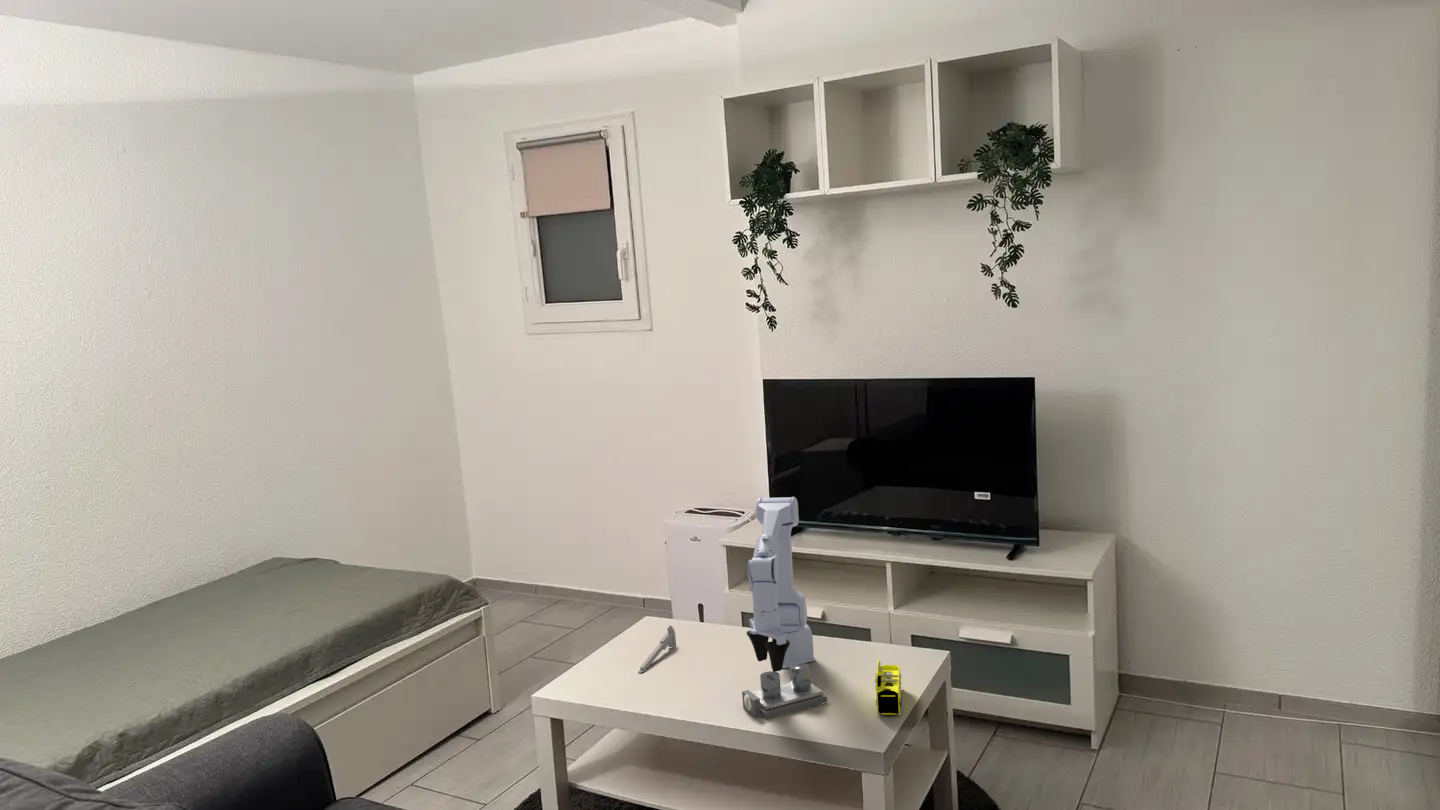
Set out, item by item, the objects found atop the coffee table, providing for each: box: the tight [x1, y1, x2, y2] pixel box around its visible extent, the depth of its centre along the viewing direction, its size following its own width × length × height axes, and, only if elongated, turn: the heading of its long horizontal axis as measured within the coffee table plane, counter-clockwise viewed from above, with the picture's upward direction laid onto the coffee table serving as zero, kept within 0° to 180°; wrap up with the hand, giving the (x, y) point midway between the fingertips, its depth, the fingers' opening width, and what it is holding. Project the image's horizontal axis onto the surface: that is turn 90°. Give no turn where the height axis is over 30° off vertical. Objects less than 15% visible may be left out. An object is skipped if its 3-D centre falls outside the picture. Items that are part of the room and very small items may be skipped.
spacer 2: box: [789, 663, 812, 691], centre depth 244 cm, size 4×4×5 cm
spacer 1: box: [759, 670, 781, 700], centre depth 241 cm, size 4×4×5 cm
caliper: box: [637, 625, 677, 674], centre depth 276 cm, size 20×1×6 cm, turn 157°
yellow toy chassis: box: [874, 658, 903, 716], centre depth 239 cm, size 16×6×8 cm, turn 169°
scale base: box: [741, 689, 828, 720], centre depth 242 cm, size 18×11×4 cm, turn 115°
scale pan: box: [751, 681, 824, 710], centre depth 243 cm, size 15×9×1 cm, turn 115°
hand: (769, 665), depth 240 cm, fingers open, 7 cm apart
